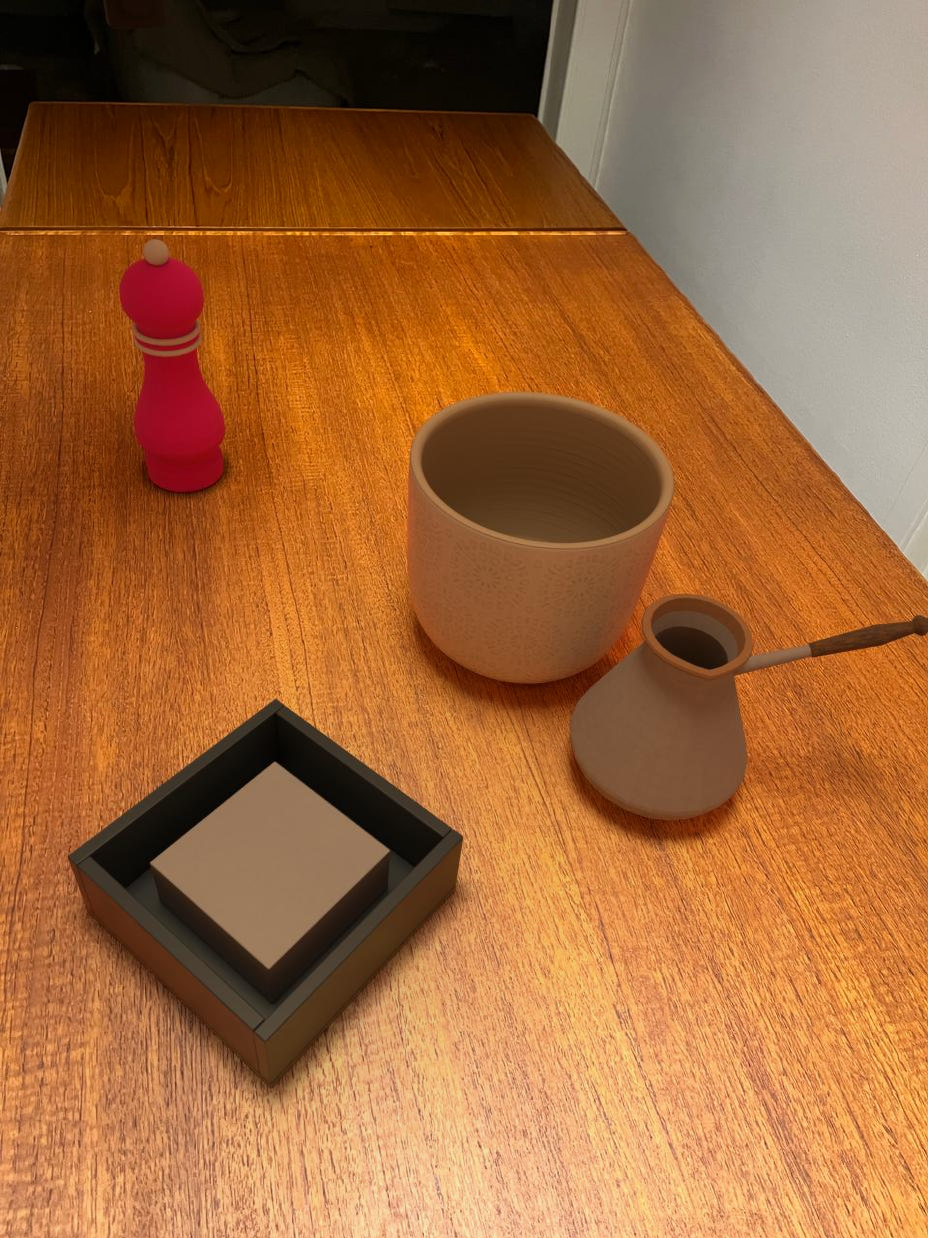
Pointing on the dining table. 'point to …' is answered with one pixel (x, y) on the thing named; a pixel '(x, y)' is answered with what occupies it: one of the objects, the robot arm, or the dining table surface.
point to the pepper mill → (172, 373)
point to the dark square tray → (192, 969)
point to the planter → (531, 531)
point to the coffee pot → (685, 707)
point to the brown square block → (272, 879)
